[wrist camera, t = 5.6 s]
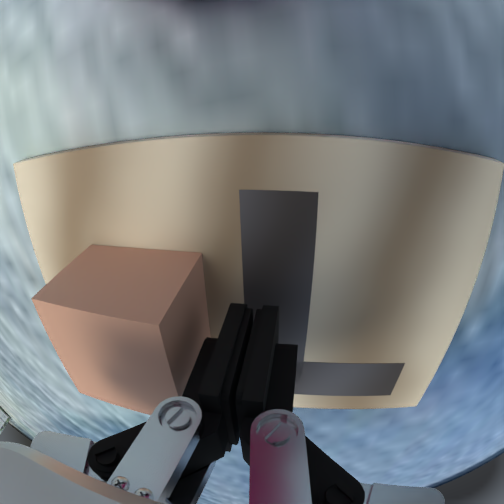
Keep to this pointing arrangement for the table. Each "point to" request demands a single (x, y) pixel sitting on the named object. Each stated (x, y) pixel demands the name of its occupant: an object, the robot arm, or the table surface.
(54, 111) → the table surface
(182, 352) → the block
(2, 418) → the syrup box
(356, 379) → the board
